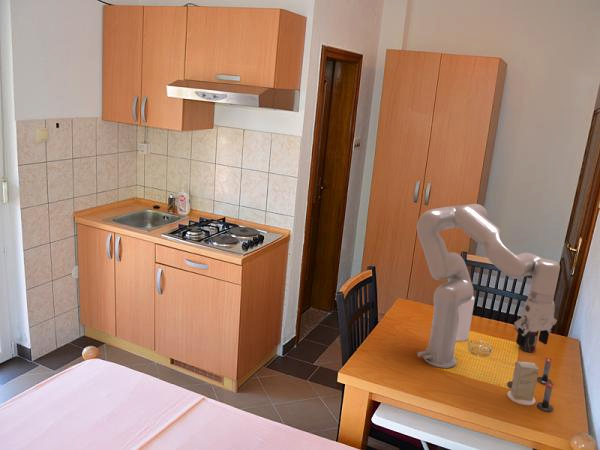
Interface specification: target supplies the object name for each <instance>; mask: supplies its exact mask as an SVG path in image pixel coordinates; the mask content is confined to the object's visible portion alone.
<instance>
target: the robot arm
mask: <svg viewBox="0 0 600 450" xmlns="http://www.w3.org/2000/svg"><path fill="white" fill-rule="evenodd" d="M416 223H417V224H416V234H417V237H418V240H419V241H420V244H421V247H422V250H423V253H424V257H425V260H426V263H427V267H428V270H429V273H430V275H431V277H432V278H433V279H434V280H437V281H445V280H447V282H445V283H442V284H440V285H438V287H437V288H436V289H435V290H434V294H433V313H432V321H431V322H432V323H431V330H430V335H429V336H430V337H429V343H428V347H425V350H423V351H417V352H416V354H417V357H418V358H421V357H422V359H423V360H424V361H425V362H426V363H427V364H429V365H431V366H433V367H437V368H443V369H451V368H454V367H455V366H456V365H457V361H458V360H457V359H456V357H455V356H454V354H455V348H456V342H457V341H456V335H457V329H458V322H459V313H458V306H460V305H462V304H464V303H466V302H468V301H470V300H471V299H472V297H474V286H473V283H472V280H471V276H470V273H469V269H468V267H467V264H466V262H465V260H464V258H463V257H462V256H461V255H460V254H459V253H457V252H453V251H451V252H450V251H448V249H447V245H446V243H445V240H444V239H443V237H442V236H441V235H440V231H444V230H448V229H449V230H450V229H456V228H457V229H458V228H460V230H462V231H463V232H464V233H465V234H467V236H469V237H470V238H471V239H472V240H474V241H475V242H476V243H477V244H479V245H480V246H481V247H482V249H483V252H484V253H485V256H486V257H487V259H488V260H489V262H491V264H492V265H493V266H495V267H496V268H497V269H498V270H499V271H501V272H502V274H504V275H505V276H507V277H509V278H511V279H517V280H518V279H522V278H524V277H526V276H532V277H531V282H530V285H529V286H530V287H529V291H528V294H527V299H526V301H525V303H524V306H523V309H522V312H521V313H522V314H521V317H520V318H519V319H518V320H516V321H514V324H513V325H514V327H515V328H514V329H515V331H516V333H517V337H516V341H515V342H516V343H515V344H517V345H518V346H519V347H520V346H521V347H524V346H525V342H526V336H525V335H526V334H527V333H528V331H531V332H535V331H539V334H538V342H540V343H542V344H544V345H548V341H549V336H550V334H551V333H552V330H553V329H554V327H555V325H556V324H557V322H558V319H556V318H555V312H556V311H555V310H556V309H555V307H556V306H555V304H556V303H555V301H554V299H555V295H556V291H557V290H556V289H557V285H558V279H559V276H560V275H559V274H560V270H561V265H560V263H559V262H557V261H555V260H552V259H549V258H543V257H541V256H538V255H537V254H534V253H531V252H522V253H518V254H515V253H513V252H512V250H510V249H509V248H507V247H506V246H505V245H504V243H503V242H502V240H501V237H500V235H501V229H500V228H499V227H498V226H496V225H495V224H494V223H493V222H491V221H490V220H489V219H488V211H487V209H486V208H485V207H484V206H483V205H481V204H478V203H471V204H464V205H453V206H450V205H449V206H444V207H443V206H442V207H437V208H431V209H429V210H426V211H425V212H423V213H422V214H421V215H420V217H419V218H418V220H417V222H416ZM526 326H527V327H526ZM524 328H525V330H524V331H523V329H524Z"/></svg>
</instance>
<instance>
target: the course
mask: <svg viewBox="0 0 600 450" xmlns="http://www.w3.org/2000/svg"><path fill="white" fill-rule="evenodd" d="M552 363H553V359H551V358H550V357H545V359H544V366H543V370H542V375H541V376H537V381H536V382H538V383H540V384H542V385H545V389H544V394H543V397H542V398H543V399H542V401H541V402H537V403H536V408H537V409H538V410H540V411H541V412H546V413H552V412H554V407H553V406H552V405H550V402H551V396H552V391H553V388H554V383H553V382H552V380H551V379H549V376H550V371H551V367H552ZM516 364H517V361H515V364H514V366H515V367H514V371H513V375H512V376H513V377H512V379H513V378H514V374H515V369H516ZM512 383H513V380H512V381H510V380H509V381H507V383H506V385H507V386H508V387H509V388H510V389H511V388H512Z"/></svg>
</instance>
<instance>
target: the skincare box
mask: <svg viewBox="0 0 600 450" xmlns="http://www.w3.org/2000/svg"><path fill="white" fill-rule="evenodd" d="M516 362H517V364H516V369H515V368H514V370H515V374H514V373H513V376H514V378H513V377H512V381H513V383H512V388H510V390H511V394H512V395H513V397H514V398H515V399H521V400H531V401H532V400H533V397H534V395H535V390H536V386H537V385H536V384H537V382H538V381H537V378H538V377H539V371H540V368H539V367H538V365H537V364H536V363H535V362H529V361H519V360H517V361H516Z"/></svg>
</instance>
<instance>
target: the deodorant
mask: <svg viewBox="0 0 600 450" xmlns="http://www.w3.org/2000/svg"><path fill="white" fill-rule="evenodd" d="M526 327H527V326H526ZM524 330H525V328H524V329H523V331H524ZM539 334H540V331H535V332H531V331H528V333H527V334H526V335H525V336H526V342H525V346H524V347H521V346H520V345H519V350H520V351H522V352H524V353H530V354H534V353H535V352H536V347H537V342H538V339H539Z"/></svg>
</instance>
